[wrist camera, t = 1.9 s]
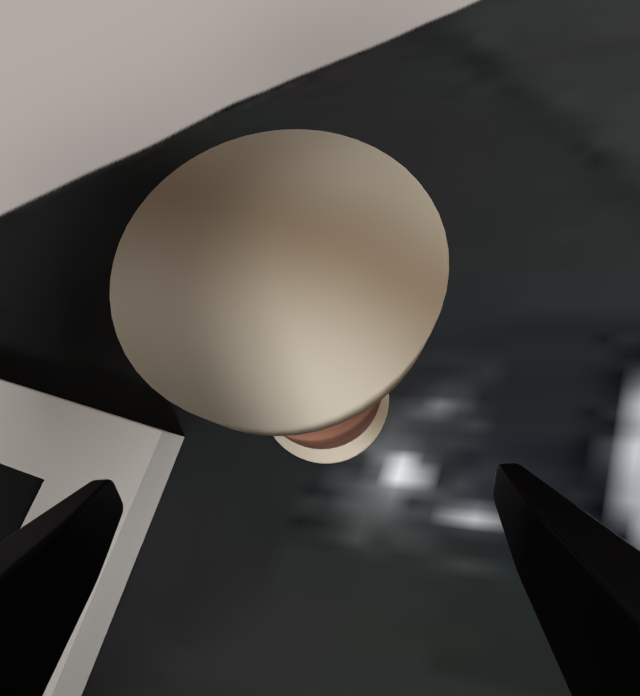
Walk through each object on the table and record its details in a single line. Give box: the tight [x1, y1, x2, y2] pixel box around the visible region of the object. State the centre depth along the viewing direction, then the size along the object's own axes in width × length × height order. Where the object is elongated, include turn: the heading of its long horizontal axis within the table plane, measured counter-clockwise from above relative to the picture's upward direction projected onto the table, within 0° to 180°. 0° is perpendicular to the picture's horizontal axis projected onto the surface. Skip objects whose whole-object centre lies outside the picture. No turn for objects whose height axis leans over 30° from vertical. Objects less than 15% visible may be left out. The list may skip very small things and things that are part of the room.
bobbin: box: [110, 129, 449, 464], centre depth 14 cm, size 7×7×14 cm
